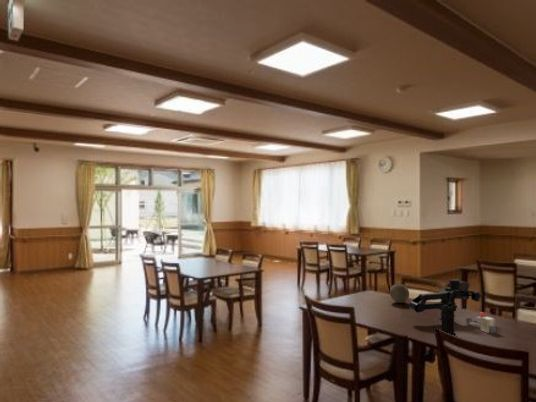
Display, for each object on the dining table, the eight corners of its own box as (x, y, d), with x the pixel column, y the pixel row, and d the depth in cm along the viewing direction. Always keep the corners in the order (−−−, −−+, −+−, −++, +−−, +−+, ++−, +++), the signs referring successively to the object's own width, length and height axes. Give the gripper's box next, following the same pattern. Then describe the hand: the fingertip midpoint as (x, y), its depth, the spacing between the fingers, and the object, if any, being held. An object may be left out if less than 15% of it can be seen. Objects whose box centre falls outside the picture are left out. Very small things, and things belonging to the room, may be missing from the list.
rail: (491, 333, 244) (491, 326, 244) (466, 323, 263) (466, 317, 263) (495, 333, 245) (495, 326, 245) (470, 323, 264) (470, 317, 264)
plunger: (482, 320, 263) (482, 313, 263) (479, 319, 265) (479, 312, 265) (485, 320, 263) (485, 313, 263) (482, 319, 266) (482, 312, 266)
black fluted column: (437, 336, 239) (437, 302, 239) (450, 336, 239) (450, 302, 239) (444, 341, 231) (444, 306, 231) (458, 340, 231) (458, 305, 231)
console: (482, 325, 261) (482, 318, 261) (476, 322, 266) (476, 316, 266) (488, 324, 262) (488, 318, 262) (482, 322, 267) (482, 316, 267)
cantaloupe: (393, 300, 326) (393, 281, 326) (411, 302, 318) (411, 283, 318) (387, 303, 314) (387, 284, 314) (405, 306, 306) (405, 286, 306)
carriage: (487, 332, 245) (487, 319, 245) (480, 330, 250) (480, 317, 250) (495, 331, 247) (495, 318, 247) (488, 329, 252) (488, 316, 252)
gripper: (469, 285, 265) (488, 284, 269) (448, 280, 283) (467, 279, 287) (469, 302, 265) (488, 300, 269) (448, 296, 283) (466, 294, 287)
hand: (477, 293), depth 278 cm, fingers open, 9 cm apart
